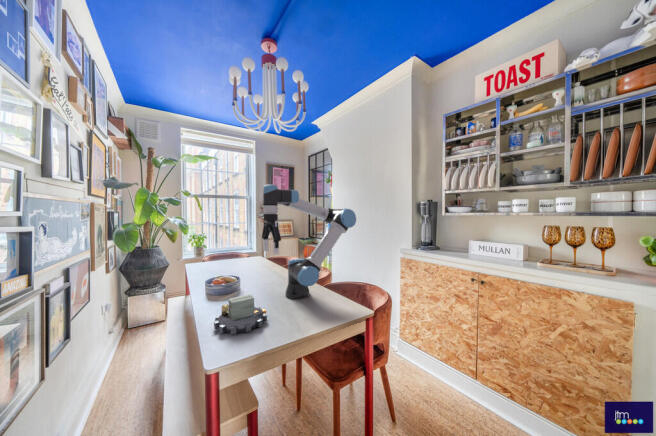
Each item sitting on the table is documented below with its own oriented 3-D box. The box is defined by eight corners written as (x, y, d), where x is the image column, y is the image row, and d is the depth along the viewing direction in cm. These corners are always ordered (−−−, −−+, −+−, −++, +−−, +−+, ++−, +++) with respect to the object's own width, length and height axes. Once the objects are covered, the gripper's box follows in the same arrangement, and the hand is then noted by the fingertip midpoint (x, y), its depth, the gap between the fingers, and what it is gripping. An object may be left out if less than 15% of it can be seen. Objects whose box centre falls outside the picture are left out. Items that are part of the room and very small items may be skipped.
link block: (228, 315, 106) (228, 298, 106) (250, 310, 112) (250, 294, 112) (232, 320, 101) (231, 302, 101) (254, 314, 107) (254, 297, 107)
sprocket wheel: (202, 331, 97) (202, 315, 97) (233, 309, 120) (233, 296, 120) (251, 336, 93) (251, 319, 93) (274, 313, 116) (274, 299, 116)
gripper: (287, 213, 115) (287, 254, 116) (268, 213, 135) (268, 249, 135) (273, 213, 111) (273, 256, 111) (255, 213, 131) (256, 250, 131)
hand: (270, 252), depth 123 cm, fingers open, 13 cm apart
